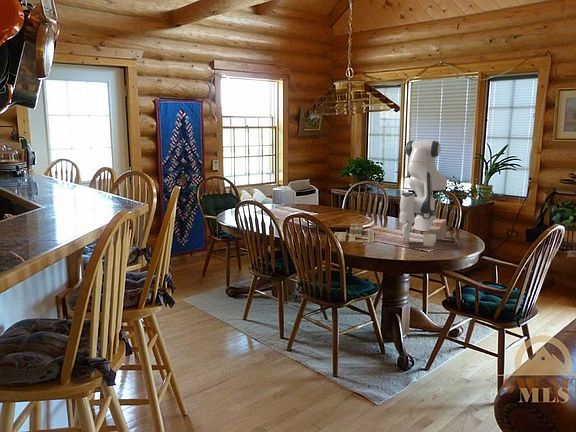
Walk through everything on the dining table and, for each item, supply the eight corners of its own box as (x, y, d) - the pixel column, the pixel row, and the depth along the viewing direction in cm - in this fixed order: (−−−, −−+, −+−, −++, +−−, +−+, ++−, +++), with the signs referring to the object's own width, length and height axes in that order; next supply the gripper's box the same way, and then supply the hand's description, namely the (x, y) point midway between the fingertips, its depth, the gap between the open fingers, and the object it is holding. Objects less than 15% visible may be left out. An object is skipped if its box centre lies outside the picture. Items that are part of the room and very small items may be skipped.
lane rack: (408, 243, 312) (408, 235, 311) (455, 245, 306) (456, 237, 305) (408, 248, 301) (408, 239, 300) (457, 250, 295) (458, 241, 294)
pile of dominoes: (335, 230, 352) (335, 223, 351) (374, 231, 348) (374, 224, 347) (331, 242, 319) (331, 234, 318) (374, 243, 314) (374, 235, 313)
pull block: (403, 242, 310) (403, 232, 309) (434, 243, 306) (435, 234, 305) (403, 244, 304) (403, 235, 303) (435, 245, 300) (436, 236, 299)
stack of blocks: (436, 244, 309) (437, 225, 307) (426, 243, 312) (427, 224, 310) (445, 237, 327) (446, 219, 324) (436, 236, 330) (437, 218, 328)
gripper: (412, 222, 293) (412, 245, 296) (411, 216, 313) (410, 237, 315) (401, 222, 294) (401, 245, 297) (401, 216, 314) (400, 237, 317)
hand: (406, 241), depth 306 cm, fingers closed on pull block, 2 cm apart
